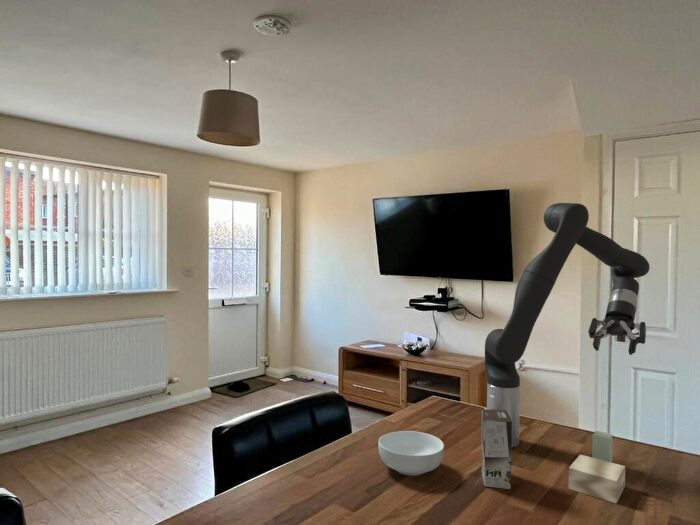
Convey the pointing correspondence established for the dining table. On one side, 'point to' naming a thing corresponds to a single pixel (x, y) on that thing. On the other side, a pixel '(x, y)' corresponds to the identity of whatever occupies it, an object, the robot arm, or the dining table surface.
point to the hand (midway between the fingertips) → (613, 351)
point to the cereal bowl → (411, 452)
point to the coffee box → (496, 448)
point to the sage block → (602, 446)
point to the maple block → (597, 478)
